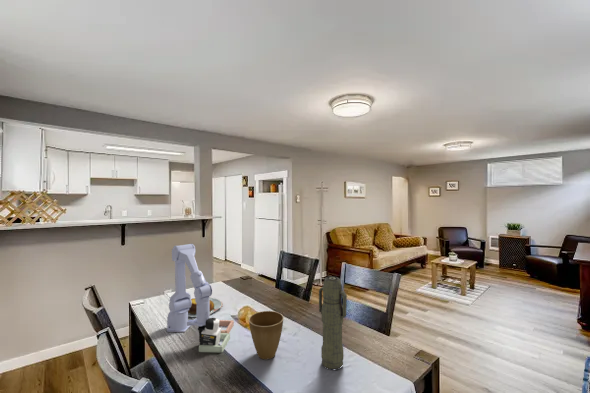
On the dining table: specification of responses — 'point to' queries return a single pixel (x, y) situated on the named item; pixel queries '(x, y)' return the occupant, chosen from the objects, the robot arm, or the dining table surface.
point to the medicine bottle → (211, 332)
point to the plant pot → (266, 332)
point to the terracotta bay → (226, 323)
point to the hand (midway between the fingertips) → (203, 341)
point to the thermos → (332, 322)
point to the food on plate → (214, 306)
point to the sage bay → (216, 347)
